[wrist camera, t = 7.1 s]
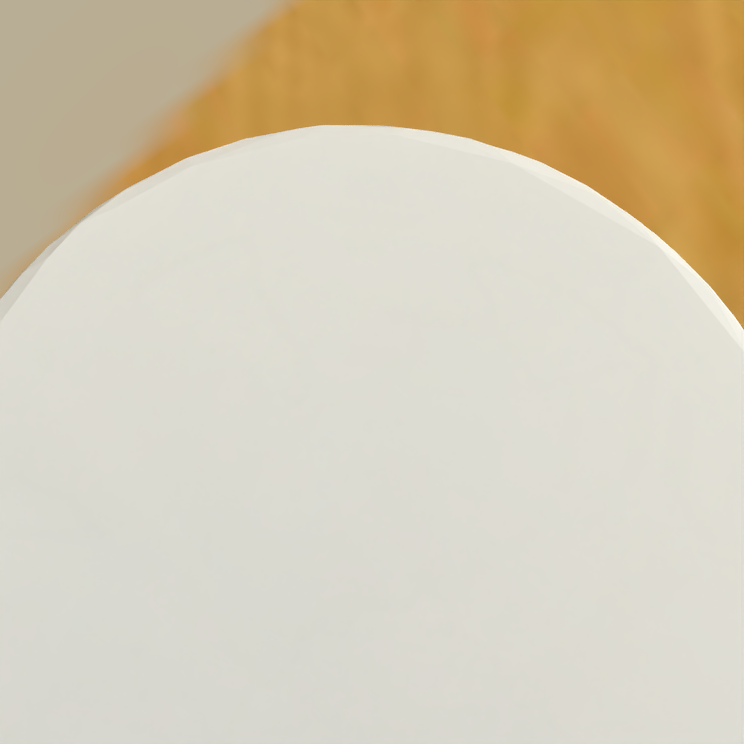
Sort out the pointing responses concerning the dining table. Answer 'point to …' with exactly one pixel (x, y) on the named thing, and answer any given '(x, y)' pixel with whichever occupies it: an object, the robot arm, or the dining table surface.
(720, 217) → the dining table surface
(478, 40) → the dining table surface
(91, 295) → the supplement bottle
